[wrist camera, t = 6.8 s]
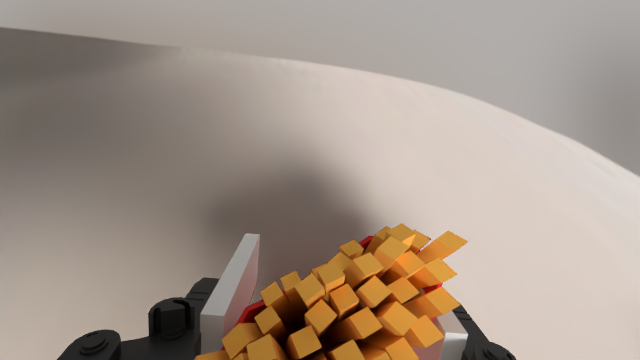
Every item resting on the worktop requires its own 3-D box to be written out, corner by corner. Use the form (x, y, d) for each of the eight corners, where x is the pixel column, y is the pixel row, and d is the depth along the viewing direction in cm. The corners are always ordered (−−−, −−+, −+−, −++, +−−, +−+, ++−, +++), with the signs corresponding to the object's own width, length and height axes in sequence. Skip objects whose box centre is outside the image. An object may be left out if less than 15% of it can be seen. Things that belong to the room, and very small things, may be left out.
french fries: (355, 275, 20) (423, 175, 10) (392, 332, 18) (522, 285, 8) (232, 351, 17) (148, 323, 7) (263, 428, 15) (212, 541, 5)
